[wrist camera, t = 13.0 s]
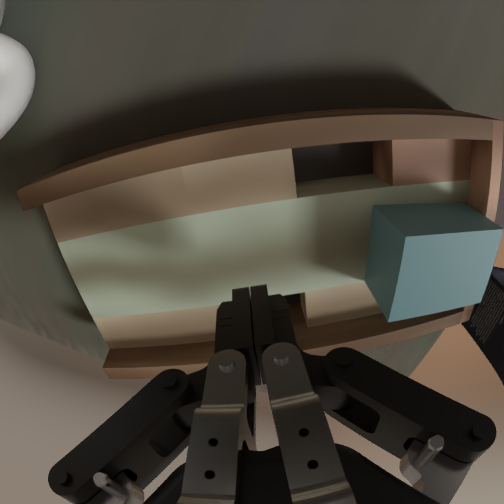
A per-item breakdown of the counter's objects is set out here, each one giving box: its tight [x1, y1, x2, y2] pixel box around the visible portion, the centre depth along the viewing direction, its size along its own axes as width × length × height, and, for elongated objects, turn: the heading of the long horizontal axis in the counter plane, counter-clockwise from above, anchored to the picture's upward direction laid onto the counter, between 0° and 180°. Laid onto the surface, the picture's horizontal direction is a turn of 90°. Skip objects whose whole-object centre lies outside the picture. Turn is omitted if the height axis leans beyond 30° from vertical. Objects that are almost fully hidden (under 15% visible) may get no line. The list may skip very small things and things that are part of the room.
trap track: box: [16, 108, 503, 379], centre depth 18 cm, size 14×27×5 cm, turn 99°
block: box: [364, 203, 503, 322], centre depth 15 cm, size 5×7×4 cm
